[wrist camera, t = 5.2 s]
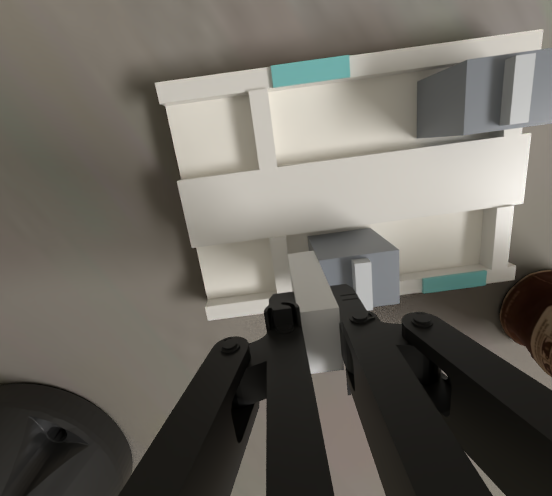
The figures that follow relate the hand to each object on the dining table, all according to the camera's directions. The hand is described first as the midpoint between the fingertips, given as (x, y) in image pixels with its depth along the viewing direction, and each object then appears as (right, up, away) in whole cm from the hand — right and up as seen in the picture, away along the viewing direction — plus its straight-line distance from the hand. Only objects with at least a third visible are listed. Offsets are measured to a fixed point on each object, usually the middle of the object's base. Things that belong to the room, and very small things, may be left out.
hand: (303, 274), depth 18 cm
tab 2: (+8, +10, 0) cm, 13 cm away
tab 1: (+3, +1, +3) cm, 4 cm away
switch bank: (+3, +5, +3) cm, 7 cm away
